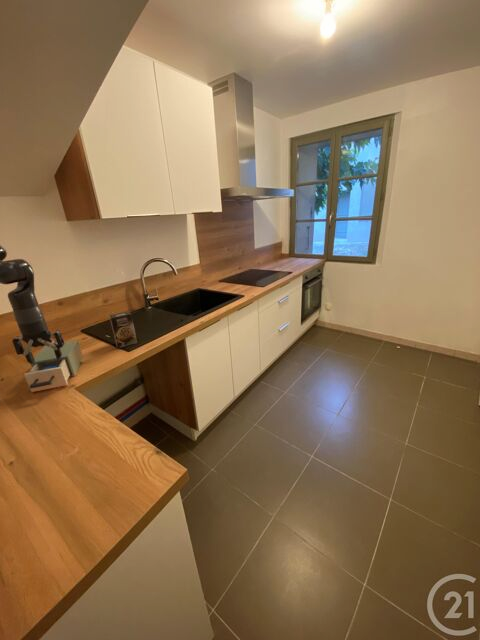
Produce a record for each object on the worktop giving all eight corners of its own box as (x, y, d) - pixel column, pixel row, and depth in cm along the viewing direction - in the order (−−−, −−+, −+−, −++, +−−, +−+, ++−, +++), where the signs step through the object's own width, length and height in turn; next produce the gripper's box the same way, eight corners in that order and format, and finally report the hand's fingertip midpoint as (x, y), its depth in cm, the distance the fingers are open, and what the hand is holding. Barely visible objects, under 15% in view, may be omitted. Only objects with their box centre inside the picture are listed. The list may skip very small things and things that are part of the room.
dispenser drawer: (63, 392, 92) (56, 375, 89) (25, 400, 89) (17, 382, 86) (76, 367, 108) (71, 351, 105) (45, 372, 105) (39, 356, 102)
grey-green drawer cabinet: (75, 376, 103) (68, 356, 100) (38, 383, 100) (30, 362, 97) (83, 359, 116) (77, 340, 113) (51, 364, 113) (44, 346, 110)
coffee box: (118, 350, 122) (110, 318, 116) (116, 345, 127) (108, 314, 121) (138, 345, 126) (131, 313, 121) (135, 340, 132) (128, 310, 126)
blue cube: (44, 383, 96) (40, 373, 94) (48, 377, 100) (44, 367, 98) (57, 380, 97) (54, 370, 96) (61, 374, 101) (57, 364, 99)
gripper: (57, 312, 95) (70, 352, 101) (11, 318, 91) (27, 359, 97) (50, 319, 88) (64, 361, 94) (0, 326, 84) (18, 369, 90)
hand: (46, 360), depth 95 cm, fingers open, 8 cm apart
